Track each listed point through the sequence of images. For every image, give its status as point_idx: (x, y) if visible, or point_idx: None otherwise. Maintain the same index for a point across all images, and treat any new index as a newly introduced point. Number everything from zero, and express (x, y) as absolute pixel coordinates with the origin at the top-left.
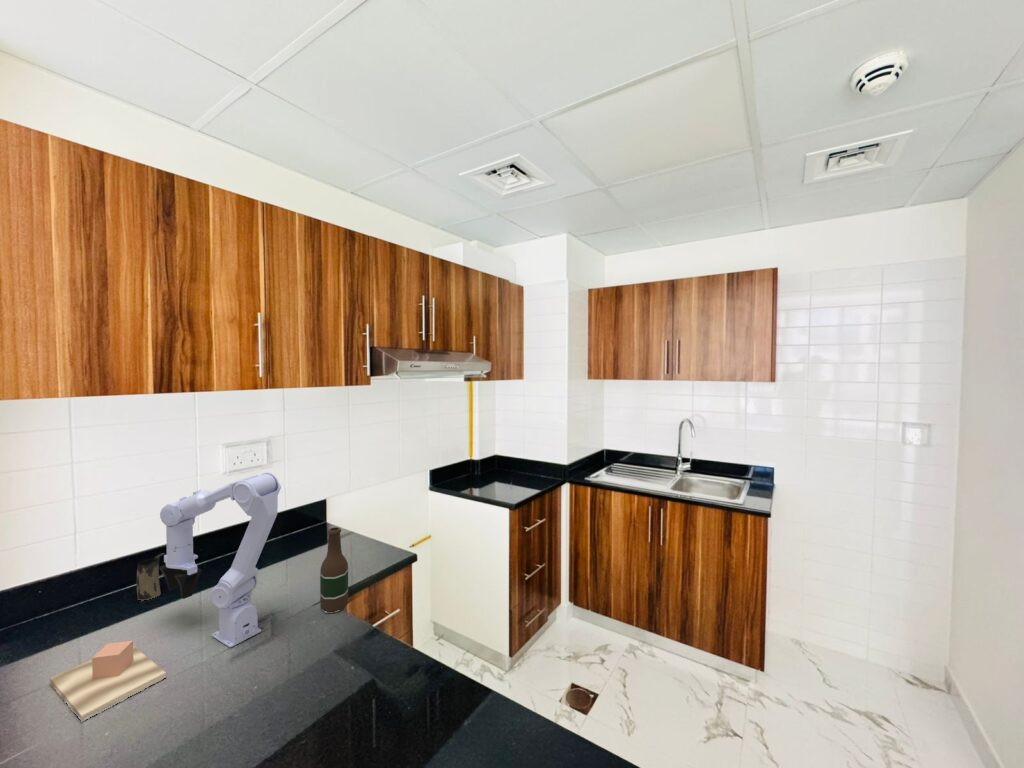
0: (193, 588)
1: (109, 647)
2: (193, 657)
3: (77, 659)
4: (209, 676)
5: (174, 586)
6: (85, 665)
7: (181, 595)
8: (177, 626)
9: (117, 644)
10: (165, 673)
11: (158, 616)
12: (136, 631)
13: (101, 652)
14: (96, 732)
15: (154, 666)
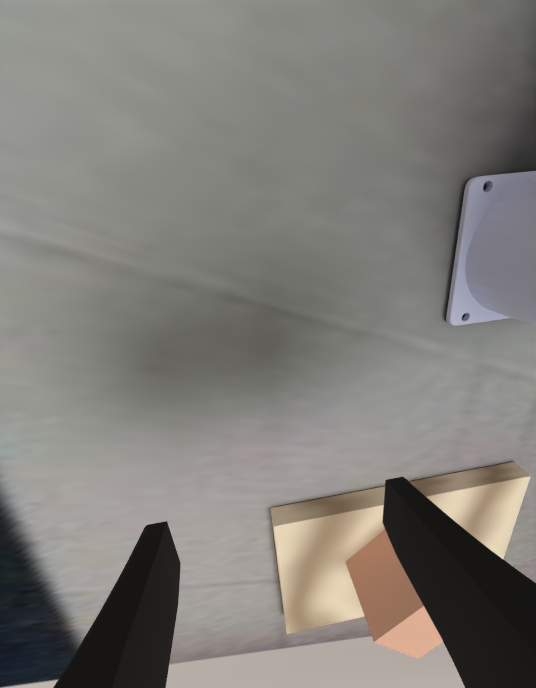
0: (453, 523)
1: (405, 638)
2: (498, 396)
3: (208, 588)
4: None
5: (171, 573)
6: (299, 594)
7: (397, 550)
8: (243, 390)
9: (409, 625)
10: (527, 474)
11: (77, 425)
12: (157, 489)
13: (413, 648)
14: (533, 553)
15: (473, 491)
